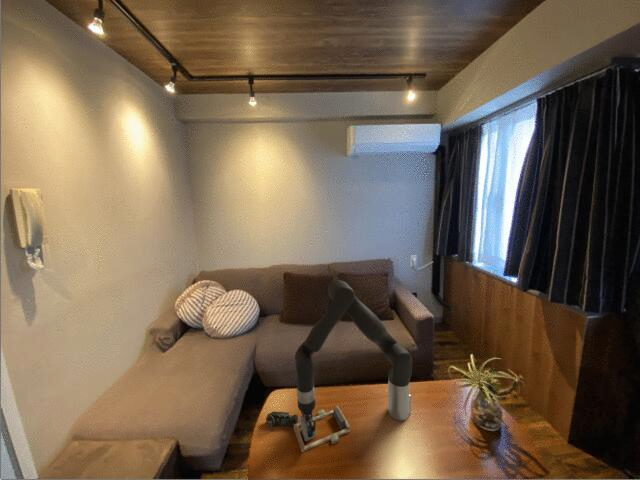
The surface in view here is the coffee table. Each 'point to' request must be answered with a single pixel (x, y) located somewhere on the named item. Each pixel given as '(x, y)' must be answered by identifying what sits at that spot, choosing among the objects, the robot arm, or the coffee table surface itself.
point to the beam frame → (333, 437)
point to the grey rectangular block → (304, 429)
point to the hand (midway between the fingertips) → (308, 430)
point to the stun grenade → (281, 419)
